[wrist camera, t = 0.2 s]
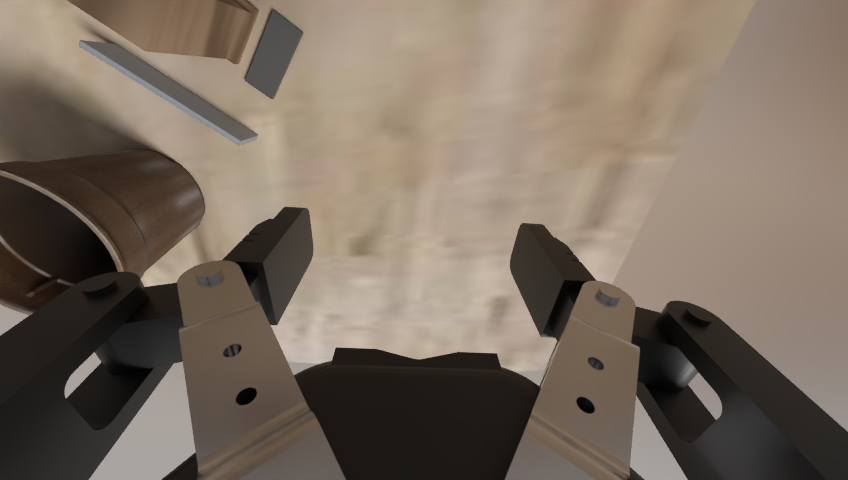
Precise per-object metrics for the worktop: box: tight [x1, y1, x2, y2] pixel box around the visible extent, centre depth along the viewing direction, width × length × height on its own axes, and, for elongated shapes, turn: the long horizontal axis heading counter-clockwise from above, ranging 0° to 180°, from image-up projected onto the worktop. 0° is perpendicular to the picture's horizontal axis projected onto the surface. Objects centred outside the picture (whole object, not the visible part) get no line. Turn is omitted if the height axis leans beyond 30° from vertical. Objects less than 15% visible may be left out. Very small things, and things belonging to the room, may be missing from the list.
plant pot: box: [0, 149, 205, 315], centre depth 34 cm, size 16×16×16 cm
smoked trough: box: [79, 10, 303, 146], centre depth 30 cm, size 16×19×4 cm
